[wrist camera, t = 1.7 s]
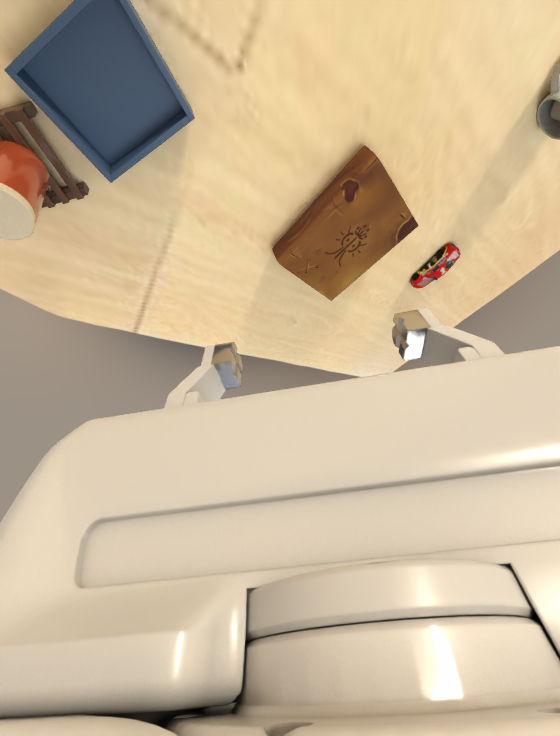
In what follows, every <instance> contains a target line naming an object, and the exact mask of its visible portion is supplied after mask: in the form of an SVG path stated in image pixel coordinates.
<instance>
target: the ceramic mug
mask: <svg viewBox="0 0 560 736" xmlns="http://www.w3.org/2000/svg"><path fill="white" fill-rule="evenodd" d="M559 85H560V61H559V63H558V64H557V66H556V67H555V69H554V72H553V75H552V77H551V88H550V89H551V94H550V95H548V96H547V97H546V98H545V99H544V100H543V101H542V102H541V103H540V105H539V107H538V111H537V119H538V123H539V125H540V127H541V129H542V130H543V132H544V133H545V134H546V135H548V136H549V137H551V138H553V139H558V140H560V87H559Z"/></svg>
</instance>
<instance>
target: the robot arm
mask: <svg viewBox="0 0 560 736" xmlns="http://www.w3.org/2000/svg"><path fill="white" fill-rule="evenodd" d="M393 322H394V323H395V326H394V327H393V328H392V338H393V342H394V344H395V346H396V347H398V348H399V353H400V355H401V357H402V359H403V360H411V359H419V358H421V359H422V360H424V361H425V362H427V363H429V364H430V365H432V366H430V367H424V368H418V369H411V370H405V371H399V372H392V373H386V374H380V375H373V376H367V377H361V378H354V379H348V380H343V381H335V382H330V383H323V384H317V385H311V386H304V387H298V388H292V389H285V390H279V391H273V392H266V393H259V394H253V395H247V396H241V397H235V398H228V399H221V400H219V399H220V398H221V396H222V394H223V393H224V392H225V390H226V389H231V388H236V387H241V380H242V377H241V372H242V361H241V357H240V355H239V354H238V353H237V346H236V344H235V343H234V342H230V343H224V344H217V345H211V346H207V347H205V351H204V355H203V359H202V363H201V366H200V367H198V368H196V369H195V370H194V371H193V372H192V373H191V374H190V375H189V376H188V377H187V378H186V379H185V380H184V381H183V382H181V384H180V385H178V386H177V387H176V388H175V389H174V390H173V391H172V392H171V393H170V394H169V395H168V397H167V401H166V403H165V407H164V409H159V410H152V411H146V412H140V413H133V414H127V415H121V416H114V417H107V418H99V419H94V420H90V421H87V422H85V423H84V424H82V425H81V426H80V427H78V428H76V429H75V430H74V431H72V432H71V433H70V434H69V435H67V436H66V437H64V438H63V439H62V440H61V441H59V442H58V443H57V444H55V445H54V446H53V447H52V448H51V449H50V450H49V451H48V452H47V454H46V455H45V456H44V458H43V459H42V460H41V462H40V463H39V465H38V466H37V467H36V469H35V470H34V472H33V473H32V475H31V476H30V478H29V479H28V480H27V482H26V484H25V485H24V487H23V488H22V490H21V491H20V493H19V494H18V496H17V498H16V499H15V501H14V502H13V504H12V505H11V507H10V508H9V510H8V511H7V513H6V515H5V516H4V518H3V520H2V521H1V523H0V736H560V346H557V347H551V348H545V349H538V350H532V351H526V352H519V353H513V354H507V355H505V354H504V353H503V352H502V351H501V350H500V349H499V348H498V347H497V346H496V344H495V343H494V342H491V341H488V340H486V339H483V338H480V337H477V336H475V335H472V334H469V333H466V332H464V331H461V330H458V329H455V328H452V327H450V326H447V325H442V324H441V323H440V322H439V321H438V320H437V319H436V317H435V316H434V315H433V314H432V313H431V311H430V310H429V309H428V308H422V309H417V310H413V311H408V312H403V313H397V314H395V315H394V318H393Z"/></svg>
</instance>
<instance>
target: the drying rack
mask: <svg viewBox="0 0 560 736" xmlns="http://www.w3.org/2000/svg"><path fill="white" fill-rule="evenodd" d="M37 113H38V111H37V110H36V108H35V107H34V105H33V104H32V102H28V103H24V104H20V105H17V106H13V107H9V108H6V109H2V110H0V126H4V127H5V128H6V130H7V131H8V132H9V133H10V135H11V136H12V137H13V139H14V140H15V141H16V143H17V144H20V145H22V146H24V147H26V148H28V149H29V150H31V151H32V152H33V153H35V152H34V151H33V149H32V148H31V147H30V145H29V144H28V143H27V141H26V140H25V139H24V137H23V136H22V135H21V133H20V132H19V131H18V129H17V128H16V126H15V125H14V124H13V123H14V122H18V121H22V123H23V124H24V125H25V127H26V128H27V130H28V131H29V132H30V134H31V135H32V137H33V138H34V139H35V141H36V142H37V144H38V145H39V146H40V148H41V149H42V151H43V152H44V153H45V155H46V156H47V158H48V159H49V160H50V162H51V163H52V165H53V166H54V167H55V169H56V170H57V171H58V173H59V174H60V176H61V177H62V178H63V180H64V181H65V183H66V184H67V185H68V187H66V188H62V189H61V187H60V186H59V185H58V183H57V182H56V181H55V179H54V178H53V177H52V175H51V174H50V172H49V171H48V172H49V176H50V184H49V186H50V187H51V188H52V190H53V191H52V192H48V193H46V196H45V199H44V201H43V204H42V207H41V208H43V207H46V206H48V207H49V208H51V207H55V205H56V204H57V203H60V202H62V203H63V204H65V203H68V202H69V201H70V200H71V199H75V198H77V199H78V200H79V199H82V198H84V196H85V195H88V192H89V188H88V187H87V185H86V184H85V182H83V183H80V184H75V182H74V181H73V179H72V178H71V176H70V175H69V173H68V172H67V171H66V169H65V168H64V166H63V165H62V163H61V162H60V160H59V159H58V158H57V156H56V155H55V153H54V152H53V150H52V149H51V147H50V146H49V145H48V143H47V142H46V140H45V139H44V137H43V136H42V134H41V133H40V131H39V130H38V129H37V127H36V126H35V124H34V123H33V121H32V120H31V118H33V117H35V116H36V114H37ZM1 141H6V140H5V139H4V138H3V137H2V135H1V134H0V142H1Z"/></svg>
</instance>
